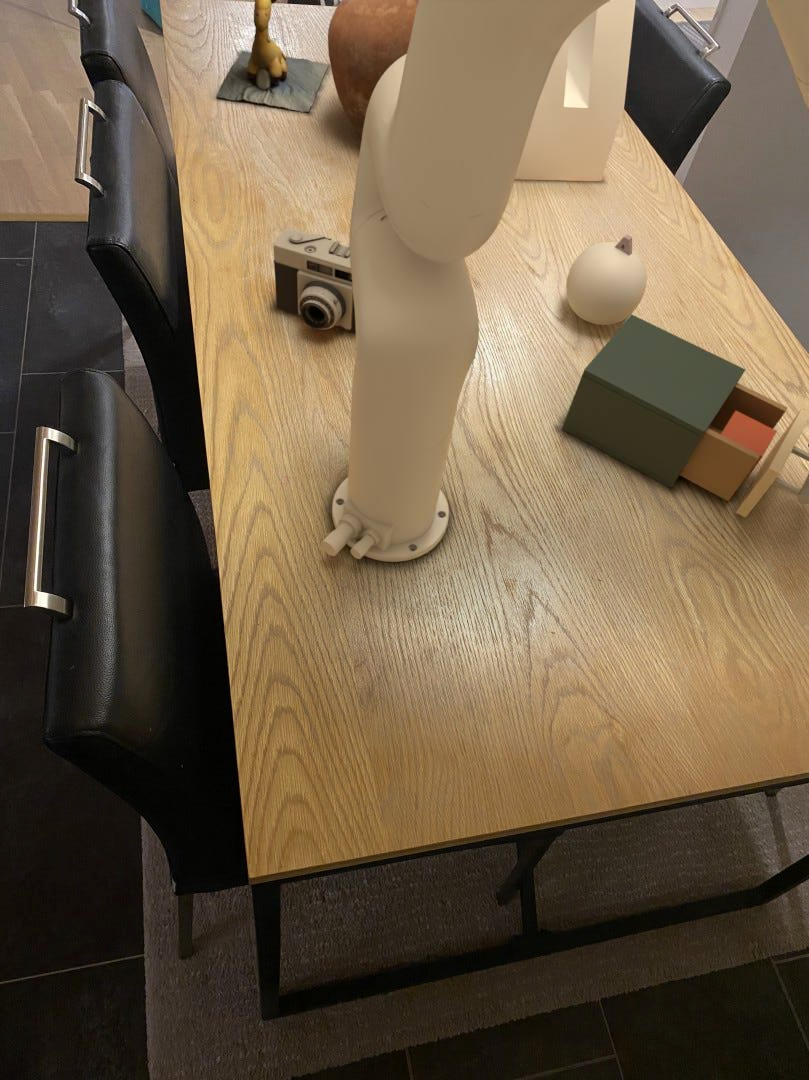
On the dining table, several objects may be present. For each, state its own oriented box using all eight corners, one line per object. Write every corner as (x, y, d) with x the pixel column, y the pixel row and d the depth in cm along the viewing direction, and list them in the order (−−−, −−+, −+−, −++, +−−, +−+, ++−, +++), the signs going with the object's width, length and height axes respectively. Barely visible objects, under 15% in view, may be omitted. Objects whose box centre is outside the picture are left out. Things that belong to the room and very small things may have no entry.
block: (741, 485, 87) (762, 456, 83) (701, 464, 88) (719, 435, 84) (756, 460, 89) (777, 430, 85) (716, 439, 91) (735, 410, 87)
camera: (262, 325, 98) (256, 257, 90) (288, 288, 103) (286, 221, 94) (363, 357, 96) (367, 290, 88) (385, 318, 101) (391, 252, 93)
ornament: (634, 301, 108) (665, 225, 98) (627, 347, 102) (659, 270, 92) (563, 284, 109) (588, 206, 99) (552, 328, 103) (577, 250, 93)
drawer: (813, 477, 90) (851, 432, 84) (783, 538, 84) (821, 495, 78) (675, 406, 95) (701, 358, 89) (637, 459, 89) (662, 413, 83)
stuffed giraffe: (216, 97, 129) (209, -13, 117) (242, 54, 140) (239, -50, 128) (308, 115, 130) (312, 8, 117) (328, 72, 141) (333, -30, 128)
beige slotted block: (489, 119, 134) (520, -52, 114) (572, 121, 136) (617, -45, 116) (511, 179, 123) (549, 2, 103) (601, 181, 126) (655, 8, 105)
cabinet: (710, 427, 95) (745, 369, 87) (671, 488, 88) (705, 431, 80) (606, 374, 99) (631, 313, 91) (561, 429, 92) (584, 369, 84)
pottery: (454, 176, 122) (480, -3, 102) (313, 151, 123) (312, -32, 102) (469, 109, 136) (495, -61, 115) (342, 87, 136) (346, -87, 116)
